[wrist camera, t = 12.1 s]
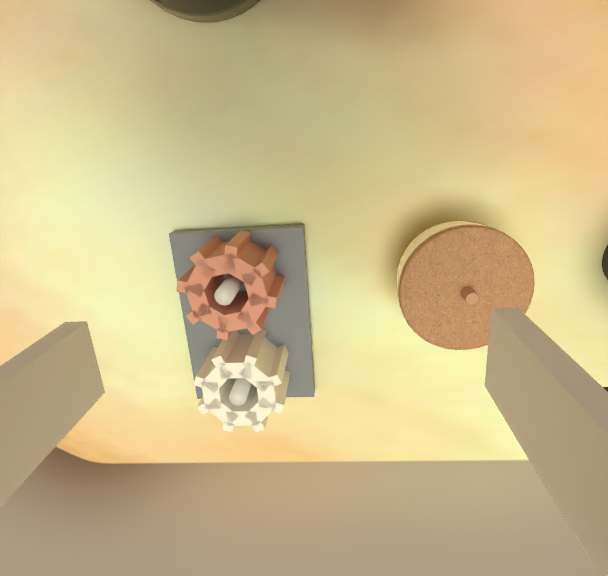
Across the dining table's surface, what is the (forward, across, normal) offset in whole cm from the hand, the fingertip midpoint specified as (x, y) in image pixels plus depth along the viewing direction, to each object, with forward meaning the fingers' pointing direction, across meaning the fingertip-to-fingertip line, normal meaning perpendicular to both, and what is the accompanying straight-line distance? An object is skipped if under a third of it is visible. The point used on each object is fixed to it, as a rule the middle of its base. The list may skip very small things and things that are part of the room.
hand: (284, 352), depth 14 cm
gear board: (+29, -8, -10) cm, 32 cm away
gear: (+27, -8, -6) cm, 29 cm away
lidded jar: (+29, +12, -6) cm, 32 cm away
